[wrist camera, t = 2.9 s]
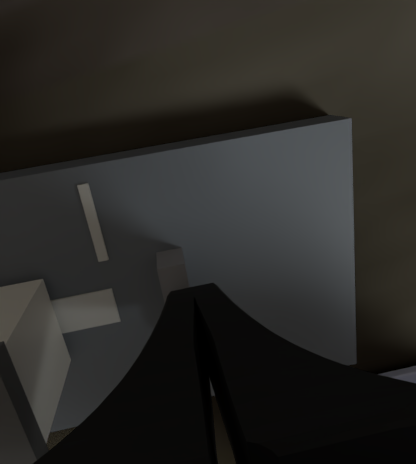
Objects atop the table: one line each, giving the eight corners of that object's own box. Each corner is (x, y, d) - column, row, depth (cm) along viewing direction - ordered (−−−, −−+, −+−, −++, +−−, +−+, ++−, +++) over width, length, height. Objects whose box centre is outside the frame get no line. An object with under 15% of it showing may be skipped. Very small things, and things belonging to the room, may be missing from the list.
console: (339, 339, 16) (373, 386, 14) (-228, 463, 15) (-307, 542, 12) (329, 115, 13) (373, 121, 10) (-399, 243, 11) (-555, 287, 9)
